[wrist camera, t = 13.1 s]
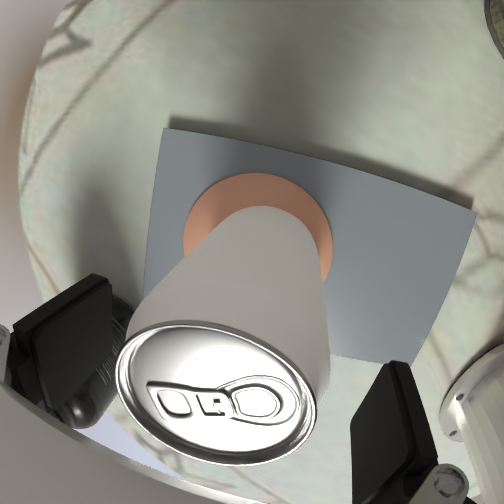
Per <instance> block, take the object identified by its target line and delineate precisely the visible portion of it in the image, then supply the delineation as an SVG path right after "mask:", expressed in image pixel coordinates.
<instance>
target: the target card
mask: <svg viewBox="0 0 504 504" xmlns="http://www.w3.org/2000/svg"><path fill="white" fill-rule="evenodd" d="M253 206H270V207H275V208H279V209H282V210H284V211H286V212H288V213H290V214H292V215H294V216H295V217H296V218H298V219H299V220H300V221H301V222H302V223H303V224H304V225H305V226H306V227H307V229H308V230H309V232H310V233H311V235H312V237H313V239H314V242H315V244H316V247H317V251H318V256H319V262H320V268H321V275H322V282H323V290H324V298H325V307H326V316H327V325H328V336H329V348H330V354H333V355H338V356H343V357H348V358H353V359H358V360H363V361H369V362H374V363H380V364H385V363H389V362H390V361H391V360H396V361H401V362H406V363H408V364H409V366H411V365H412V363H413V361H414V359H415V358H416V356H417V354H418V352H419V350H420V349H421V347H422V345H423V343H424V341H425V339H426V337H427V335H428V333H429V331H430V329H431V327H432V325H433V323H434V321H435V319H436V317H437V315H438V313H439V311H440V309H441V307H442V304H443V302H444V300H445V298H446V296H447V293H448V291H449V289H450V286H451V284H452V282H453V279H454V277H455V274H456V272H457V269H458V267H459V264H460V262H461V259H462V256H463V254H464V251H465V248H466V245H467V243H468V240H469V237H470V234H471V231H472V228H473V225H474V221H475V218H476V215H477V213H476V212H474V211H472V210H470V209H467V208H465V207H462V206H460V205H457V204H455V203H452V202H450V201H447V200H445V199H442V198H440V197H437V196H434V195H432V194H429V193H426V192H424V191H421V190H418V189H415V188H412V187H410V186H407V185H404V184H401V183H398V182H395V181H392V180H389V179H386V178H383V177H380V176H377V175H373V174H370V173H367V172H364V171H360V170H357V169H354V168H350V167H347V166H343V165H340V164H336V163H333V162H329V161H326V160H322V159H318V158H314V157H310V156H307V155H303V154H299V153H294V152H290V151H286V150H282V149H278V148H273V147H269V146H264V145H260V144H255V143H250V142H245V141H240V140H235V139H230V138H225V137H219V136H214V135H208V134H202V133H196V132H190V131H184V130H177V129H170V128H163V133H162V138H161V144H160V150H159V156H158V162H157V168H156V175H155V181H154V188H153V196H152V203H151V211H150V220H149V229H148V238H147V249H146V260H145V273H144V287H143V300H144V298H145V297H146V296H147V295H148V294H149V293H150V292H151V291H152V289H153V288H154V287H155V286H156V285H157V284H158V283H159V282H160V281H161V280H162V279H163V278H164V277H165V276H166V275H167V274H168V273H169V272H170V271H171V270H172V269H173V268H174V267H175V266H176V265H177V264H178V263H179V262H180V261H181V260H182V259H183V258H184V257H185V256H186V255H187V254H188V253H189V252H190V251H191V250H192V249H193V248H195V247H196V246H197V245H198V244H199V243H200V242H201V241H202V240H203V239H204V238H205V237H206V236H207V235H208V234H209V233H210V232H211V231H212V230H213V229H215V228H216V227H217V226H218V225H219V224H220V223H221V222H222V221H223V220H225V219H226V218H227V217H228V216H230V215H231V214H233V213H235V212H237V211H239V210H241V209H244V208H248V207H253Z"/></svg>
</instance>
